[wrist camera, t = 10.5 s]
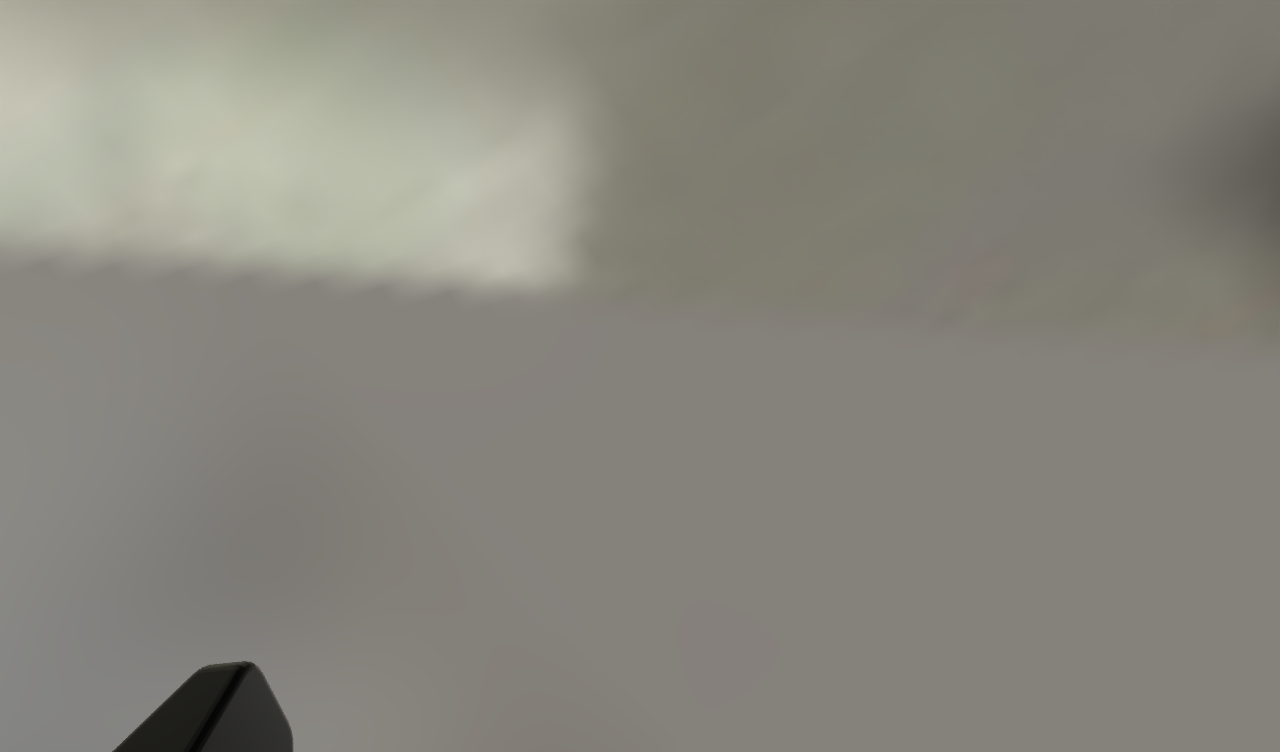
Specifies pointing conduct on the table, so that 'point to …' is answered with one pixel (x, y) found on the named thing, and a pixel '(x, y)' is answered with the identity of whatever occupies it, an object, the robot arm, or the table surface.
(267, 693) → the robot arm
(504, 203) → the table surface
